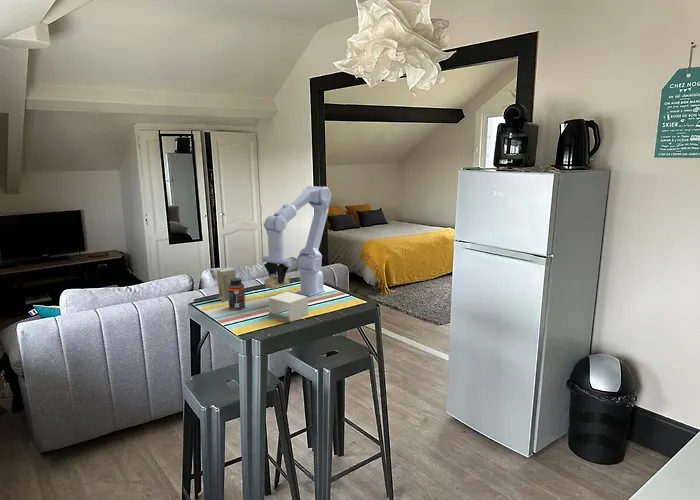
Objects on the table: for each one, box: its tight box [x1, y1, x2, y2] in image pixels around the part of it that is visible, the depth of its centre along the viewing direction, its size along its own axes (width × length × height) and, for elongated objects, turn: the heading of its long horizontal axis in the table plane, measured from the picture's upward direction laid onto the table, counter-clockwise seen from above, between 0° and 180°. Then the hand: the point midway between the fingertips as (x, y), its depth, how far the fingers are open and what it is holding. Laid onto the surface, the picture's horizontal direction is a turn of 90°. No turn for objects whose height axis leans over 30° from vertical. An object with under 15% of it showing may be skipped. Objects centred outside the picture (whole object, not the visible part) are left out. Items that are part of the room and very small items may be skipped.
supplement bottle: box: [228, 277, 246, 311], centre depth 180 cm, size 6×6×11 cm
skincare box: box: [216, 267, 237, 302], centre depth 191 cm, size 6×4×12 cm
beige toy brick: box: [264, 274, 290, 290], centre depth 185 cm, size 9×4×5 cm, turn 141°
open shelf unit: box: [268, 291, 309, 323], centre depth 172 cm, size 10×10×7 cm
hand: (277, 282), depth 185 cm, fingers closed on beige toy brick, 4 cm apart
